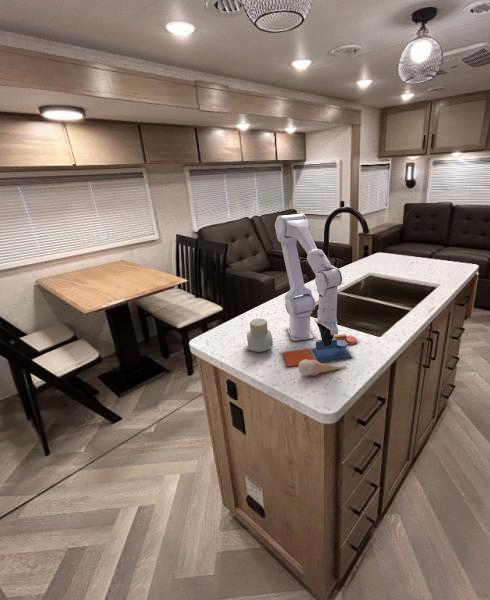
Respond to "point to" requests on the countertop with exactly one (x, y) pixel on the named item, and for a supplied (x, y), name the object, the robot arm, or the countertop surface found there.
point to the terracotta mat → (297, 357)
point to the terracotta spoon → (346, 338)
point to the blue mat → (331, 354)
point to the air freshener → (259, 336)
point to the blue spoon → (334, 344)
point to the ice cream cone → (314, 367)
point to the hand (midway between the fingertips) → (326, 343)
